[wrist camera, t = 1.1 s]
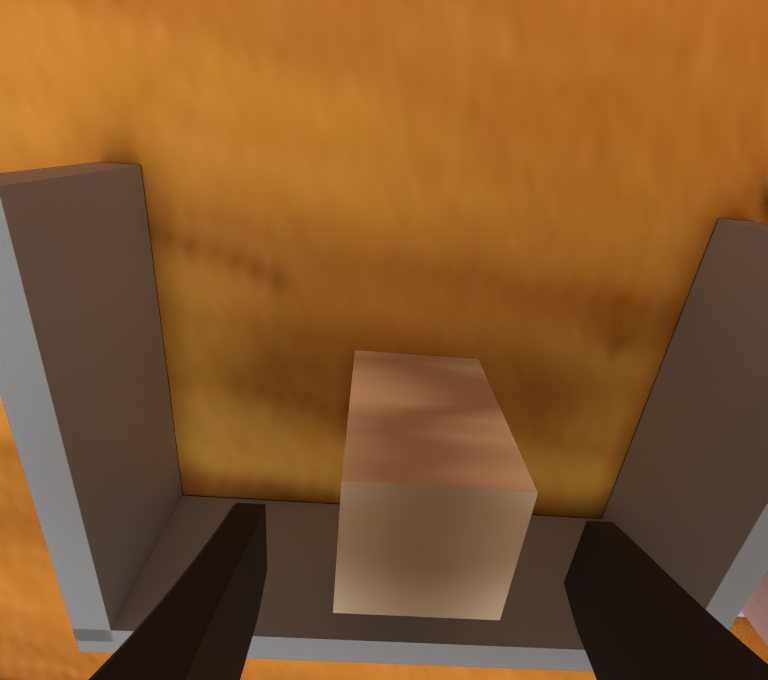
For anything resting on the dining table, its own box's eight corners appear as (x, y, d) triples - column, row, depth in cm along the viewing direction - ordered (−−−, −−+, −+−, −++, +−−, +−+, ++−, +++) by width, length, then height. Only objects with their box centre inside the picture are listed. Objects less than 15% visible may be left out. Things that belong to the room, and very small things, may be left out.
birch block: (478, 358, 15) (538, 492, 9) (458, 457, 16) (500, 620, 11) (355, 349, 14) (341, 481, 9) (348, 450, 16) (332, 612, 11)
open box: (752, 221, 13) (956, 270, 8) (618, 539, 18) (700, 675, 14) (101, 161, 12) (-67, 180, 7) (158, 514, 17) (79, 651, 13)
